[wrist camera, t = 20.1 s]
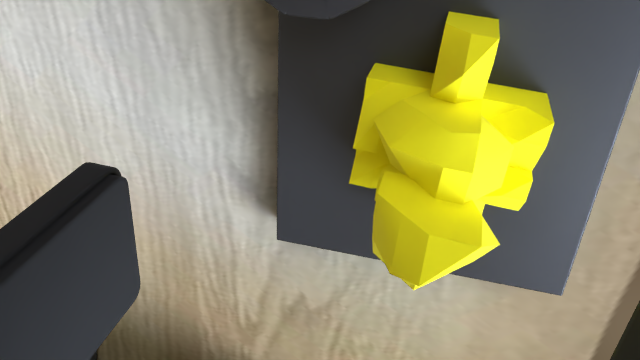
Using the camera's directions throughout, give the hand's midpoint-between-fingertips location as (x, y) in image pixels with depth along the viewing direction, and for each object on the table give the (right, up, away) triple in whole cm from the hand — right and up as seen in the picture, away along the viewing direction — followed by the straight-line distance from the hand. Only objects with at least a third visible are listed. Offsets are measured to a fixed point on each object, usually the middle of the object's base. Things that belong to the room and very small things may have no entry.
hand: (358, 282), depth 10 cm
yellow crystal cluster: (+4, +4, +10) cm, 12 cm away
